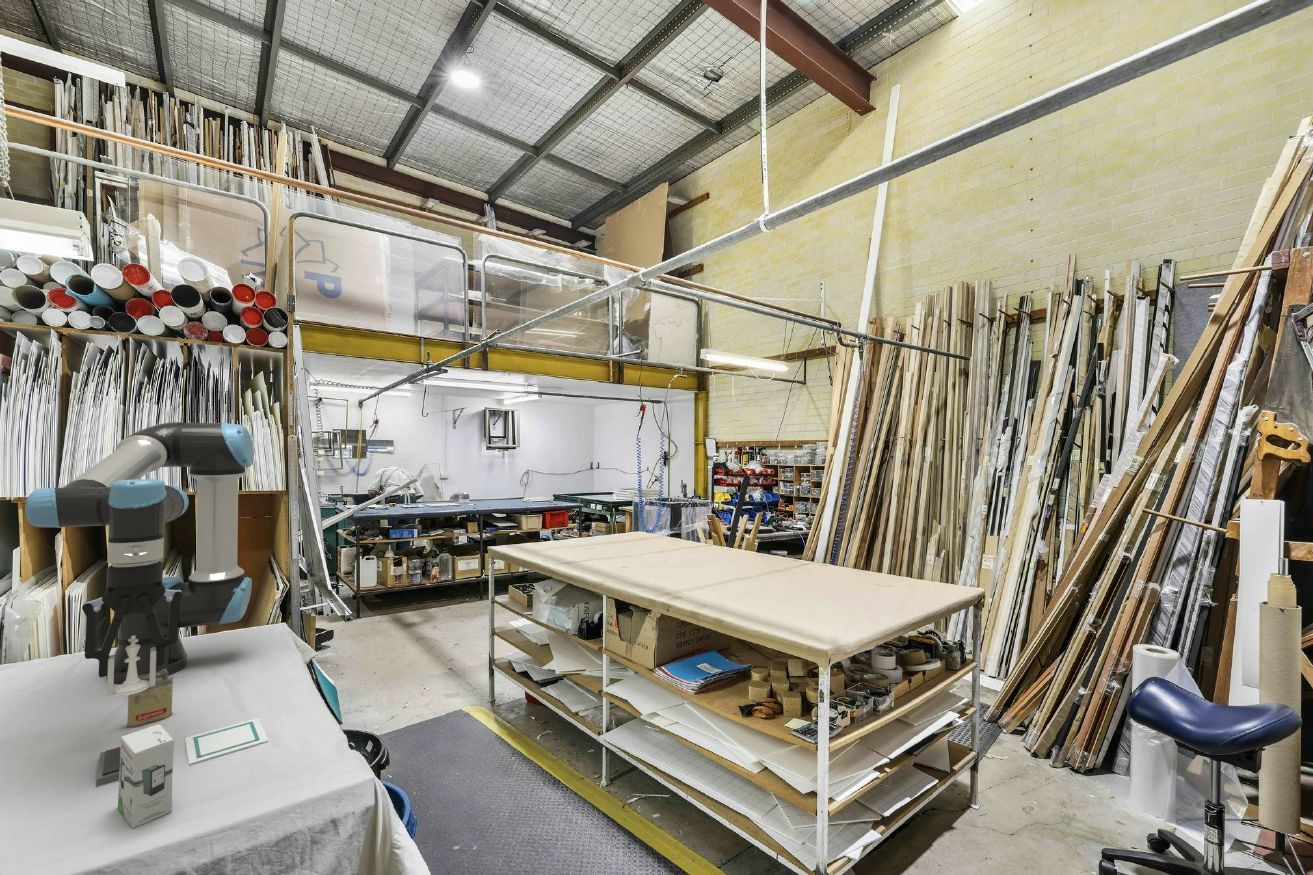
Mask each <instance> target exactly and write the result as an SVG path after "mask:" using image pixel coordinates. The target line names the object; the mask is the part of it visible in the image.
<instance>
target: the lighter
mask: <svg viewBox="0 0 1313 875" xmlns="http://www.w3.org/2000/svg"><path fill="white" fill-rule="evenodd" d="M160 676H162V677H160ZM157 677H159V678H157ZM138 678H139V679H140V680H147V681H148V682H149V685H150V674H147V675H140V676H138ZM173 684H174V682H173V677H172V676H169V675H168V672H167V669H163V670H162V671H159V672H156V675H155V686H152V687H149V688H148V689H146V690H144V691H141V692H139V693H135V694H131V695H127V696H128V698H127V700H128V702H127V723H126V726H127V727H129V728H130V727H139V726H142V725H145V724H149V723H151V722H156V721H159V720H162V719H166V718H168V717H171V715H173V691H174V690H173V686H174V685H173Z"/></svg>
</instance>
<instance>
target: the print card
mask: <svg viewBox="0 0 1313 875" xmlns="http://www.w3.org/2000/svg"><path fill="white" fill-rule="evenodd" d="M184 741H185V742H184V743H185V749H186V755H187V762H188V766H192V765H195V764H198V763H202V762H206V761H209V760H212V759H215V758H218V757H219V758H220V757H221V756H225V755H228V754H232V753H236V752H238V751H242V750H245V749H249V748H252V747H255V746H259V745H262V744H265V743H268V742H269V739H268V737H267V735H266V732H265V730H264V728H263V725H262V723H261V720H260V718H259V717H257V718H252V719H250V720H245V721H242V722H238V723H234V724H231V725H227V726H223V727H220V728H216V729H212V730H209V731H206V732H201V733H198V734H194V735H190V736H186V737H184Z"/></svg>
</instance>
